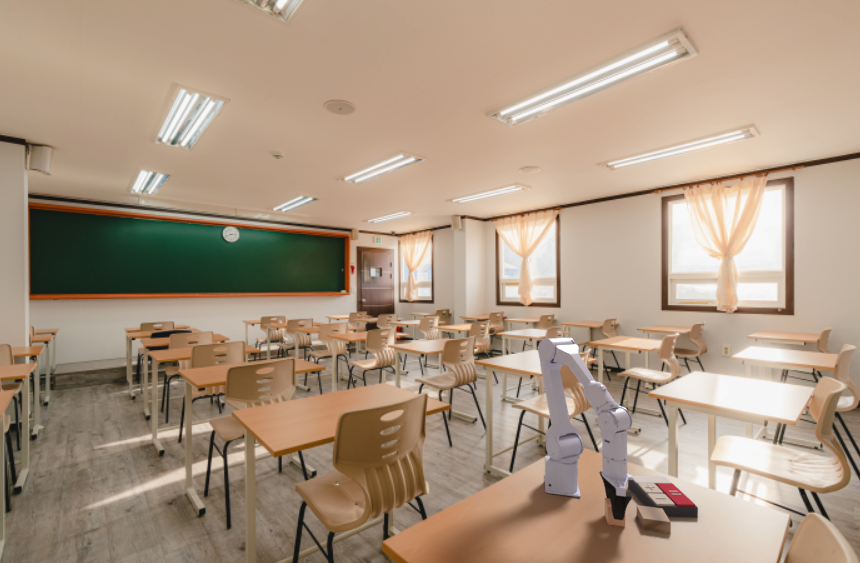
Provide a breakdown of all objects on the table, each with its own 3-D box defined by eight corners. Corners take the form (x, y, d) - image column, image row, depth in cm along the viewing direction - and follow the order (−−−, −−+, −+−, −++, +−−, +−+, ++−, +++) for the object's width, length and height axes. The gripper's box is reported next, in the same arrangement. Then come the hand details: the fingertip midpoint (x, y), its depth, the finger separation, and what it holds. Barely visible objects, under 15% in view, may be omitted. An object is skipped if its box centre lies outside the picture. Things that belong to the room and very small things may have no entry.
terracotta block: (607, 524, 97) (607, 506, 97) (604, 515, 101) (604, 497, 101) (625, 527, 96) (625, 508, 96) (621, 517, 100) (621, 500, 100)
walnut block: (643, 530, 95) (643, 518, 95) (636, 516, 101) (636, 505, 101) (670, 534, 93) (670, 522, 94) (662, 520, 99) (662, 508, 99)
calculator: (655, 504, 100) (627, 473, 115) (655, 520, 100) (627, 487, 115) (699, 505, 100) (665, 474, 115) (698, 521, 100) (664, 488, 115)
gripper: (639, 471, 91) (640, 529, 90) (625, 446, 105) (625, 497, 104) (607, 467, 92) (607, 525, 92) (597, 444, 106) (597, 494, 106)
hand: (615, 510), depth 98 cm, fingers open, 7 cm apart
